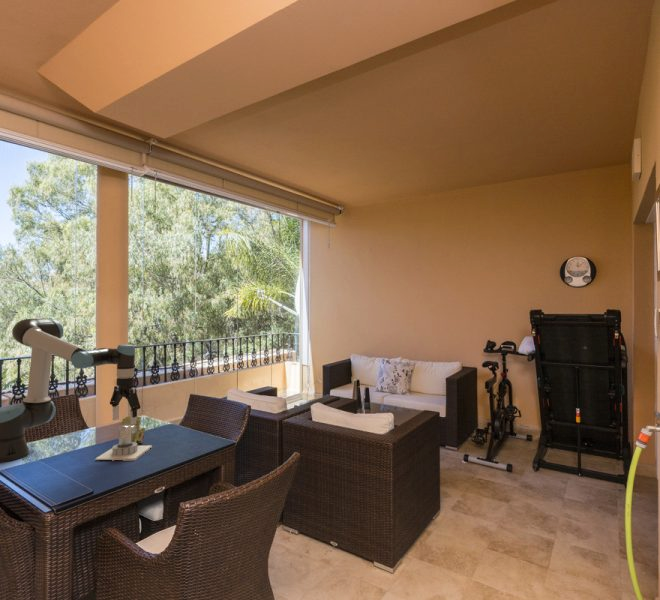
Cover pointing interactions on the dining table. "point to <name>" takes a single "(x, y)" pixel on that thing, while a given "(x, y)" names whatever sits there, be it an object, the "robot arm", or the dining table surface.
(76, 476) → the dining table surface
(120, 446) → the elbow
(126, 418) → the mechanical component
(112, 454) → the plate
